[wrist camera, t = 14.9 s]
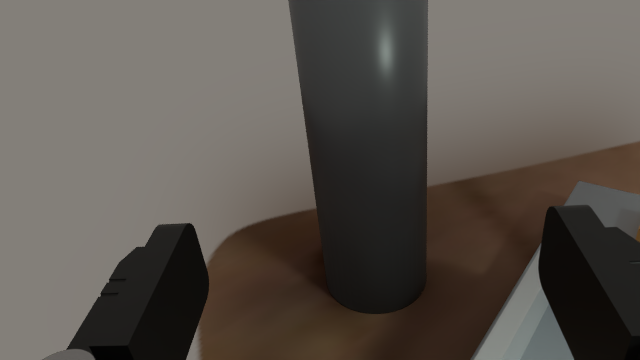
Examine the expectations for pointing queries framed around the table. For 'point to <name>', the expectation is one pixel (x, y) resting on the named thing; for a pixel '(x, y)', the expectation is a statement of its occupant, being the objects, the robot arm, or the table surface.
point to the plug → (367, 143)
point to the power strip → (528, 296)
